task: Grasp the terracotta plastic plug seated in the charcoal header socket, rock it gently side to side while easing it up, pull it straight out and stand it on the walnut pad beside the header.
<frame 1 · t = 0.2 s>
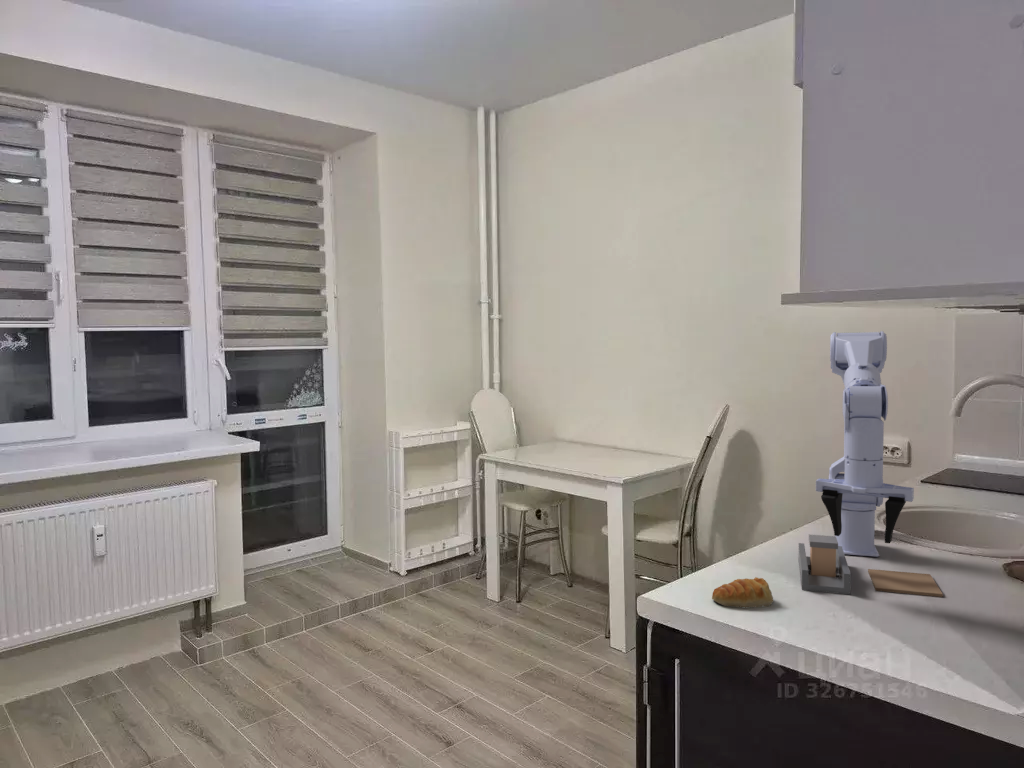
hand: (862, 538, 118), 10 cm above the worktop, fingers open, 7 cm apart
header: (822, 576, 128), on the worktop
walnut pad: (903, 583, 124), on the worktop
pastry: (744, 603, 118), on the worktop
plug: (822, 576, 128), resting in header
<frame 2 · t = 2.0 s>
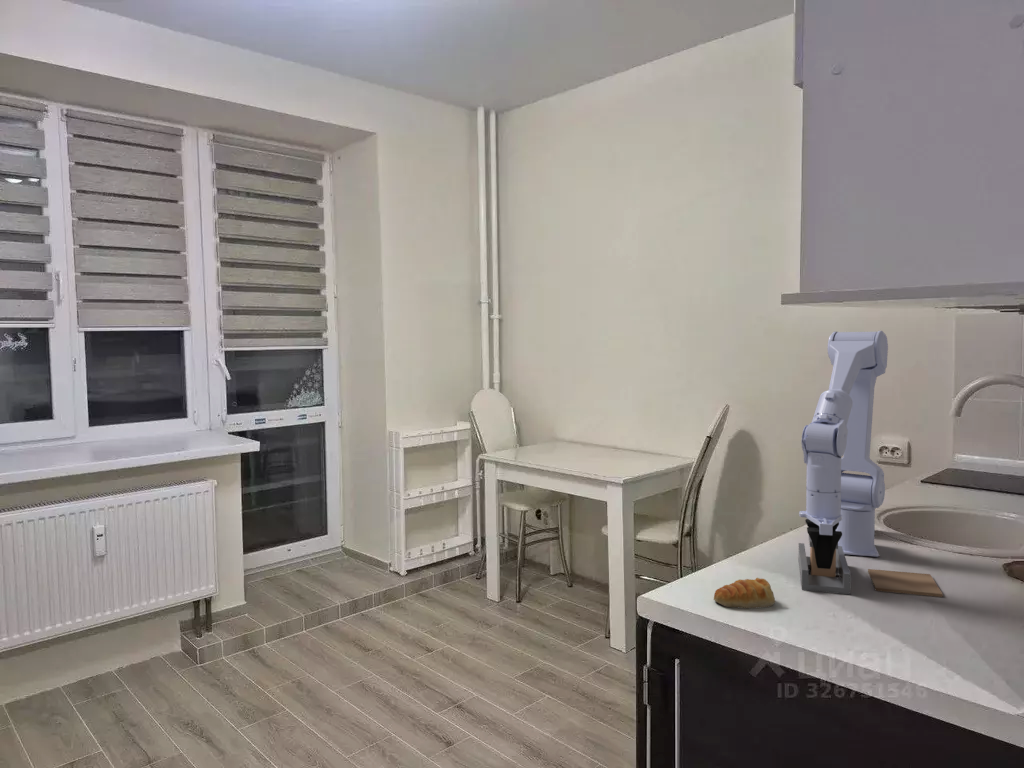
hand: (822, 563, 128), 2 cm above the worktop, fingers closed on plug, 4 cm apart
plug: (822, 576, 128), resting in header, touching gripper
everything else where it was.
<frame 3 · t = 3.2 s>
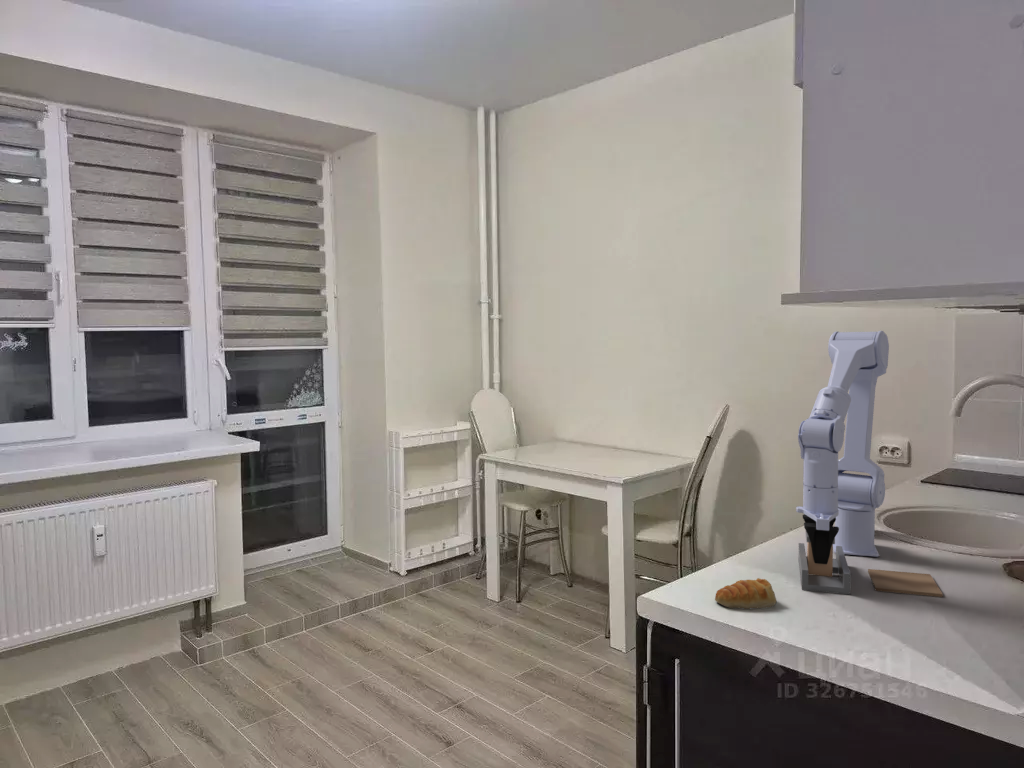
hand: (819, 558, 128), 3 cm above the worktop, fingers closed on plug, 4 cm apart
plug: (819, 571, 128), point 1 cm above the worktop, touching gripper
everything else where it was.
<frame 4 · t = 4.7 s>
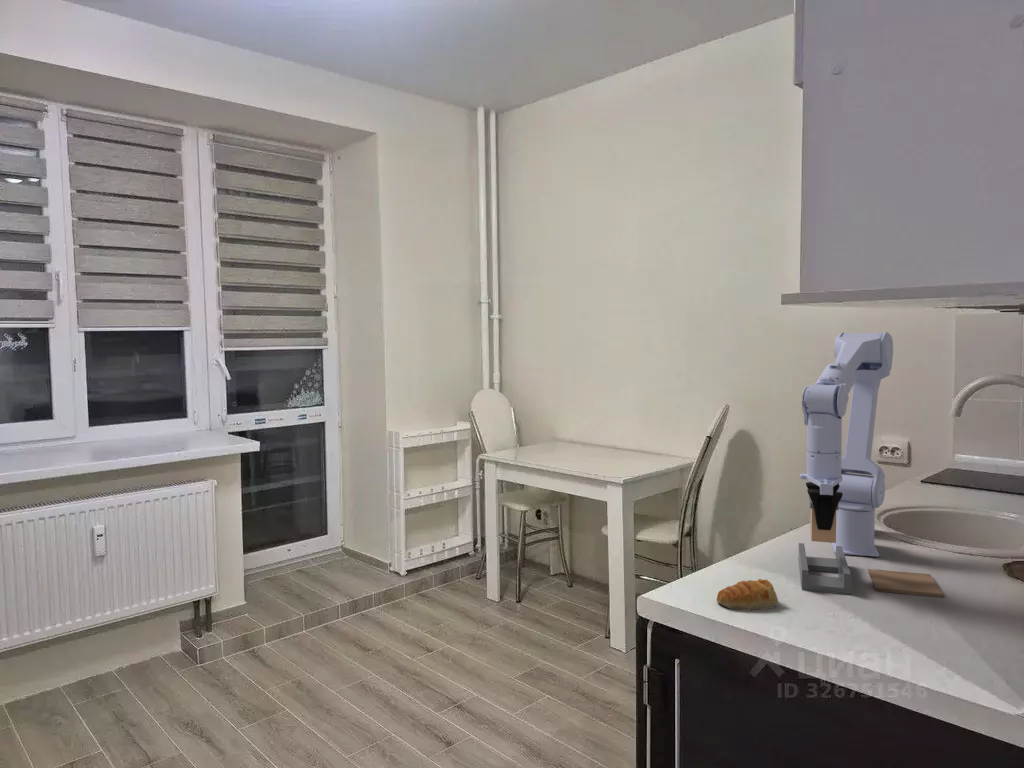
hand: (823, 525, 128), 9 cm above the worktop, fingers closed on plug, 4 cm apart
plug: (822, 538, 128), point 7 cm above the worktop, touching gripper
everything else where it was.
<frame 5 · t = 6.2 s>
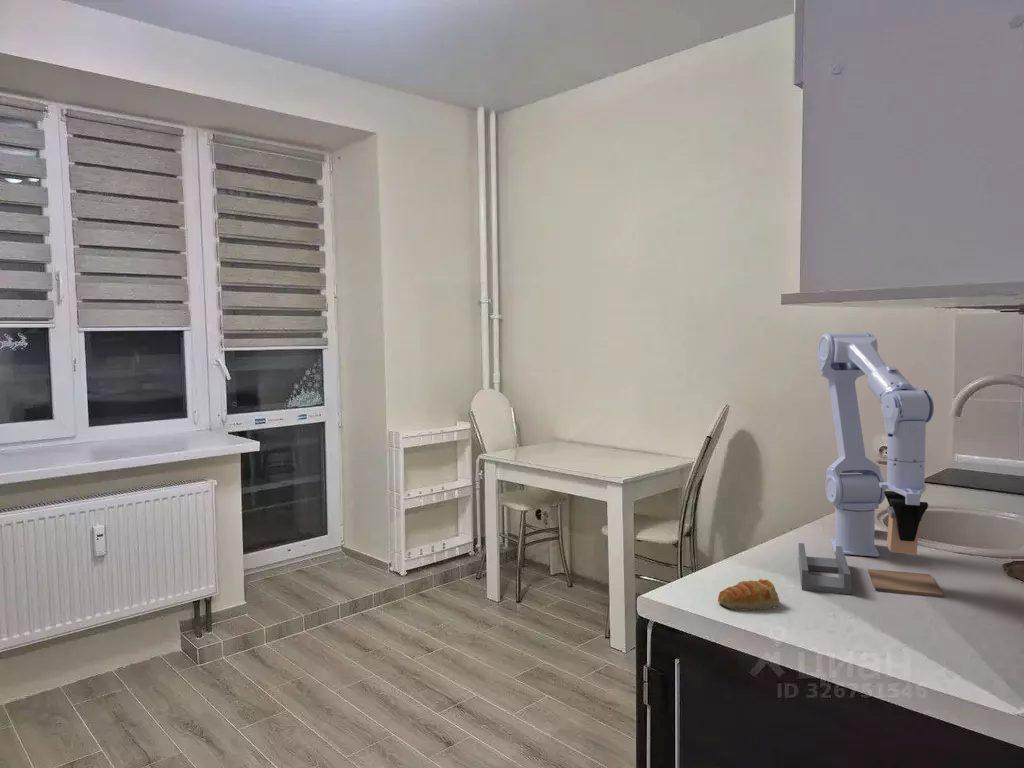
hand: (904, 536, 123), 8 cm above the worktop, fingers closed on plug, 4 cm apart
plug: (901, 549, 123), point 6 cm above the worktop, touching gripper
when the fingers open (4 cm above the worktop, at t = 7.5 s): plug drops 1 cm, resting on walnut pad.
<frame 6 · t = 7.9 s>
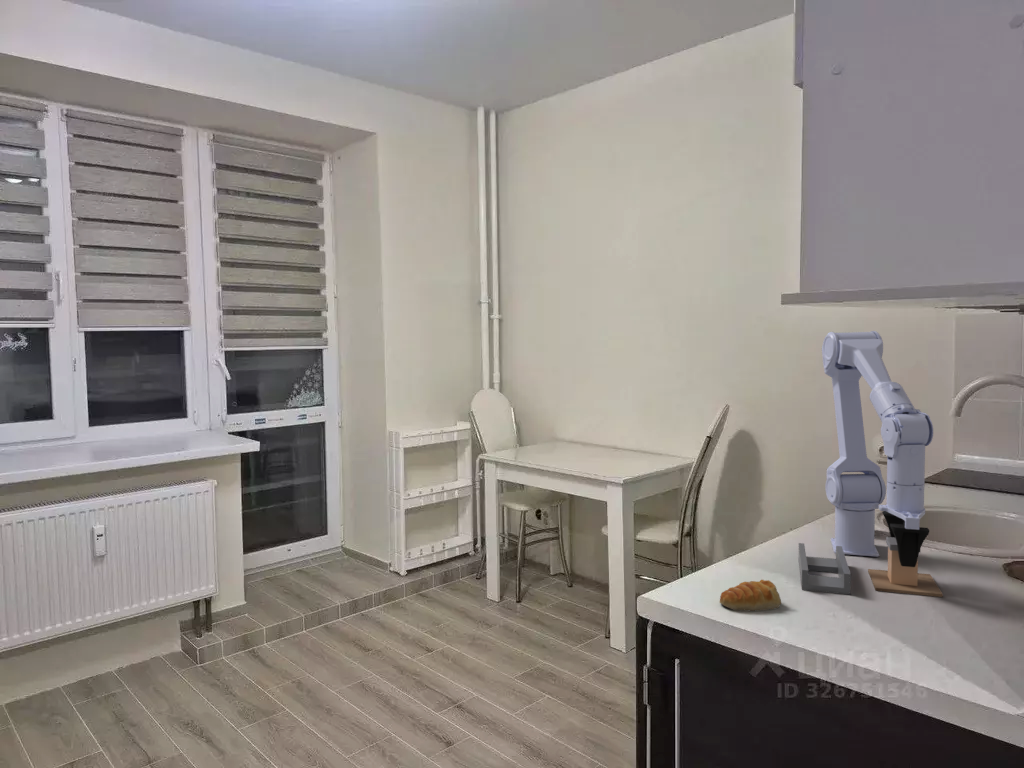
hand: (903, 559, 124), 4 cm above the worktop, fingers open, 7 cm apart
plug: (902, 580, 124), resting on walnut pad
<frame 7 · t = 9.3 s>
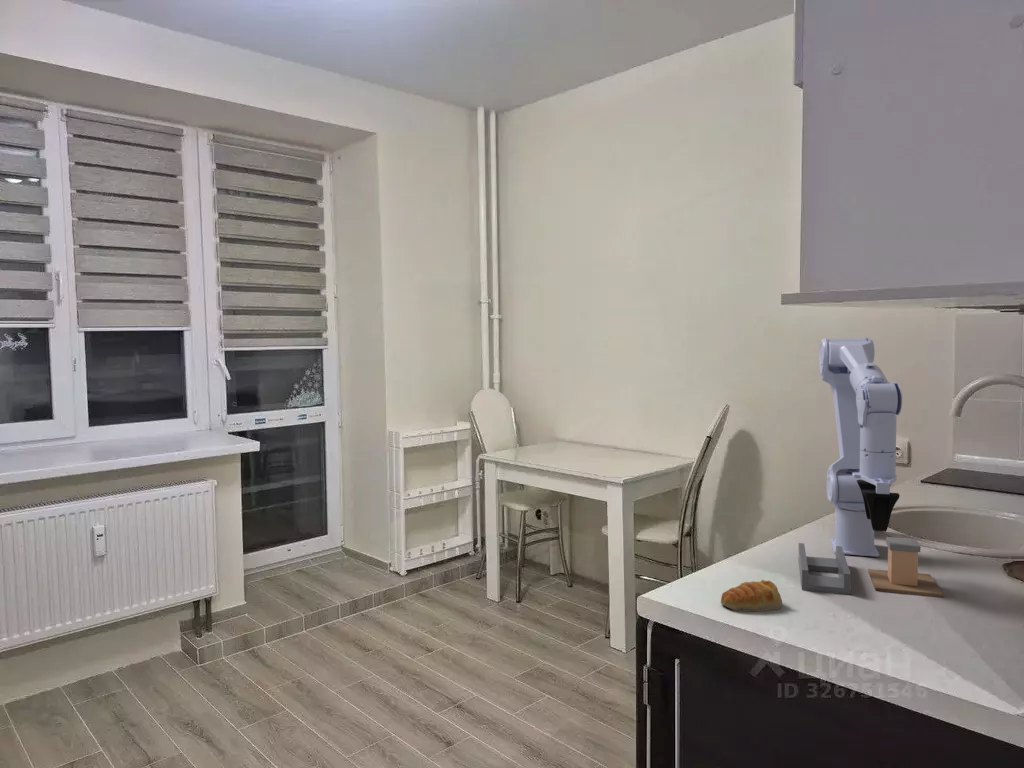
hand: (876, 524, 127), 9 cm above the worktop, fingers open, 7 cm apart
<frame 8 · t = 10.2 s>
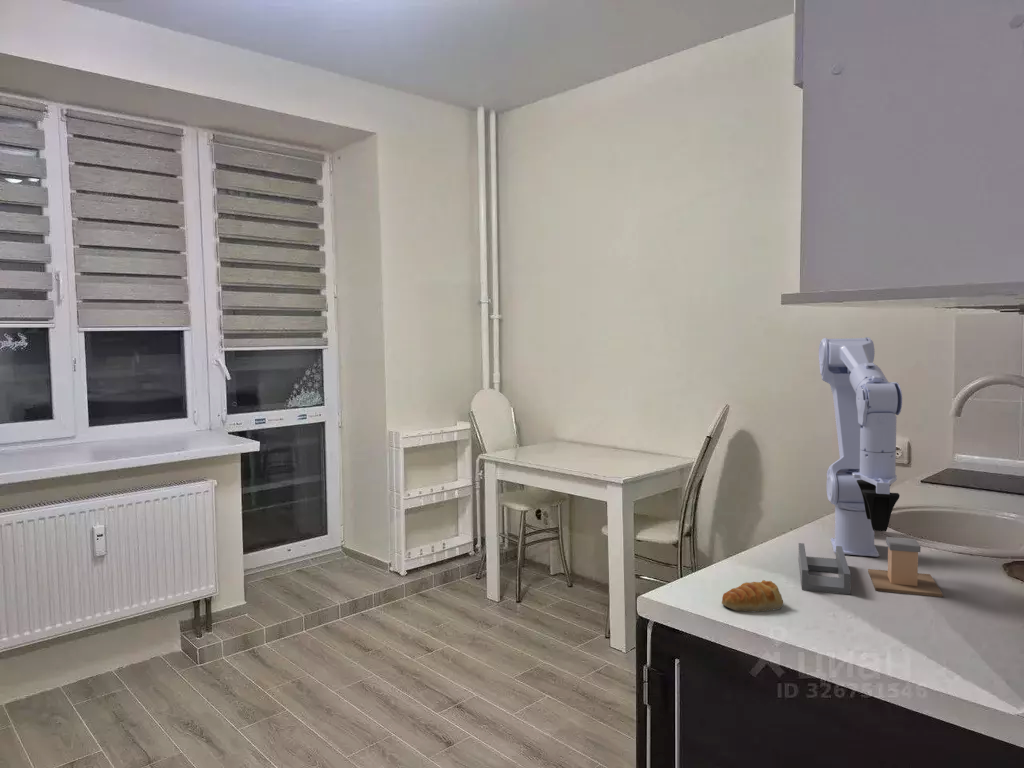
hand: (876, 524, 127), 9 cm above the worktop, fingers open, 7 cm apart
at the end: plug 0.2 cm off-centre on the walnut pad, point 0.5 cm above the walnut pad's base; plug tilted 0°; the gripper is holding nothing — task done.
